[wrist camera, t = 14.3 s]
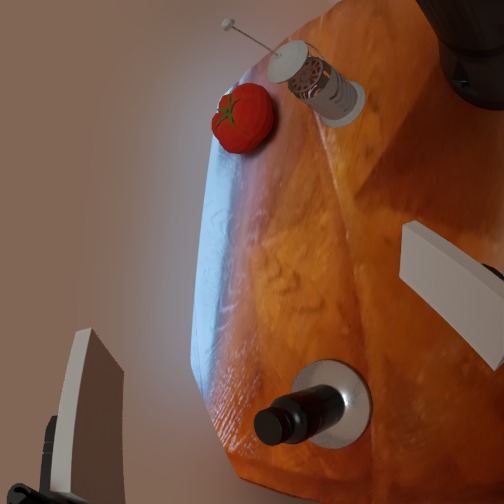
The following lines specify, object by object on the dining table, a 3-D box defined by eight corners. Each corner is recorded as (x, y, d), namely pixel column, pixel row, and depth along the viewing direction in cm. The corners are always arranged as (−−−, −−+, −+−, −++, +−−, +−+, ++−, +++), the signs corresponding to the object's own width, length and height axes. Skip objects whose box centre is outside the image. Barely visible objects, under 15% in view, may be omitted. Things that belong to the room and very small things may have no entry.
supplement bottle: (302, 410, 41) (241, 430, 34) (318, 375, 41) (256, 389, 33) (334, 434, 36) (275, 463, 28) (354, 398, 35) (296, 423, 28)
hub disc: (301, 350, 45) (296, 351, 44) (381, 370, 34) (377, 371, 34) (289, 427, 44) (284, 429, 43) (360, 457, 33) (356, 460, 32)
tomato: (280, 84, 58) (246, 63, 52) (287, 142, 54) (247, 121, 48) (239, 115, 69) (205, 99, 62) (239, 171, 65) (201, 157, 58)
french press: (318, 133, 49) (194, 64, 33) (319, 82, 50) (211, 11, 33) (366, 120, 41) (241, 26, 25) (363, 67, 42) (254, -23, 26)
